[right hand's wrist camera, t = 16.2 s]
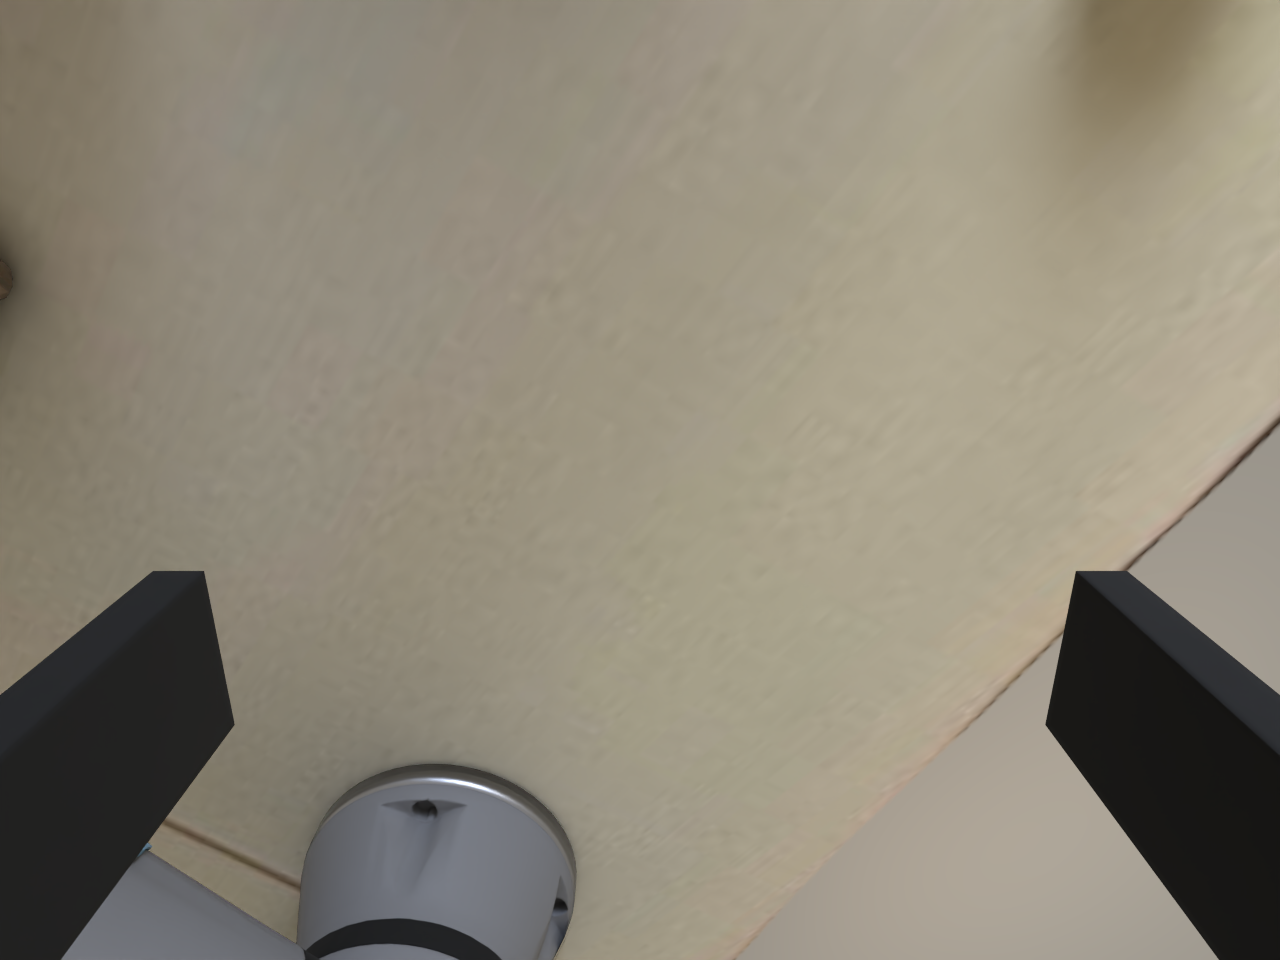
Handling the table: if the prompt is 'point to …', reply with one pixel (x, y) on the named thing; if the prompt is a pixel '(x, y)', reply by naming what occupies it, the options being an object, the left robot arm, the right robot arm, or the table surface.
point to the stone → (5, 280)
